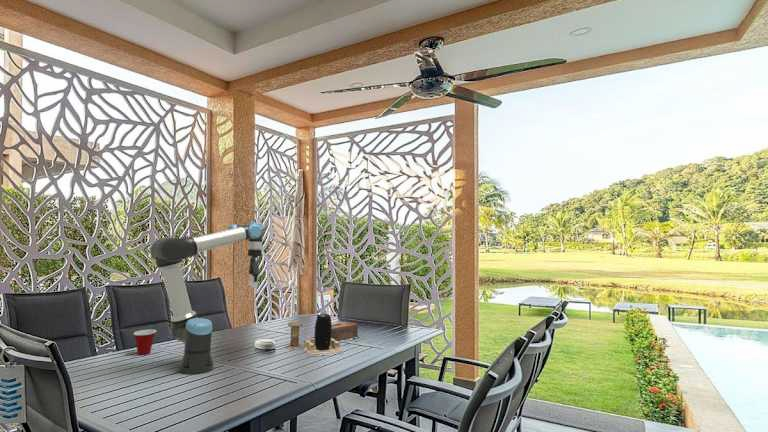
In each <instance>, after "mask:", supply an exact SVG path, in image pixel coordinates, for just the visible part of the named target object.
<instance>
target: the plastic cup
mask: <svg viewBox="0 0 768 432" xmlns="http://www.w3.org/2000/svg"><path fill="white" fill-rule="evenodd" d="M156 332H157V330H156V329H153V328H152V329H151V328H149V329H141V330H137V331H135V332H133V335H134V338H135V339H134V340H135V344H136V351H137V355H138V356H145V355H147V356H148V355H149V354H151V350H152V347H153V342H154V339H155V335H156Z"/></svg>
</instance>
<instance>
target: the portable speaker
mask: <svg viewBox="0 0 768 432" xmlns="http://www.w3.org/2000/svg"><path fill="white" fill-rule="evenodd" d="M331 323H332V316H331V315H330V314H329V313H322V314H317V315H316V320H315V325H314V335H315V346H316V349H317V350H323V349H327V350H328V349H329V346H330V342H331V327H332V324H331Z"/></svg>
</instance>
